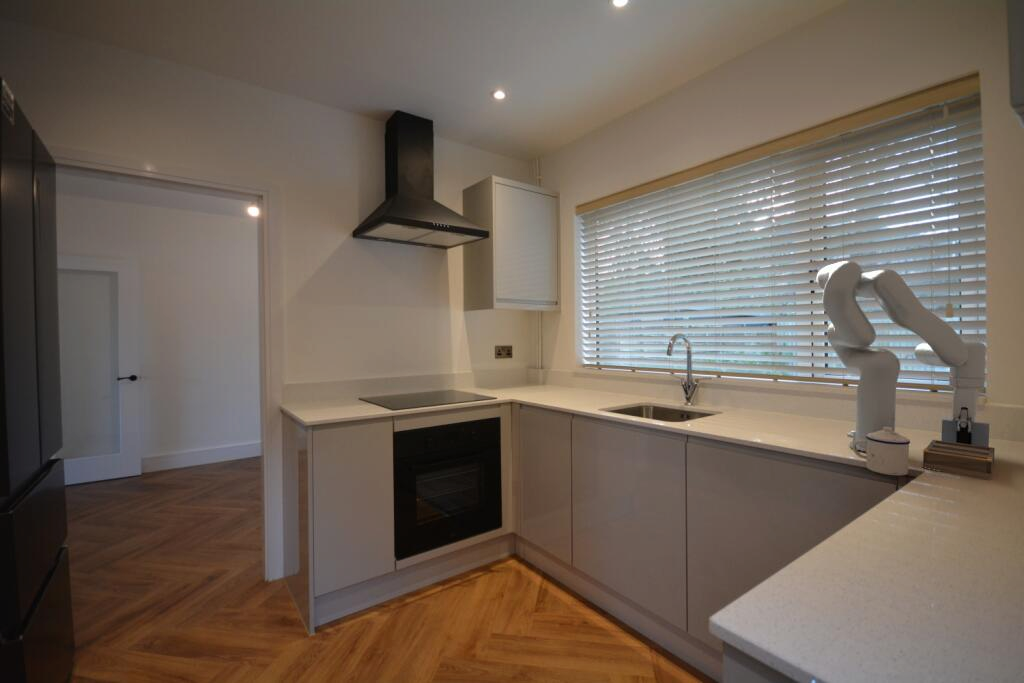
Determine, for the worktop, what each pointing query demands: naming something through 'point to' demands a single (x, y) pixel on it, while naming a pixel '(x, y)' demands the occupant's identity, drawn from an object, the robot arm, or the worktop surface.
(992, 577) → the worktop surface
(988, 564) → the worktop surface
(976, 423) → the panel
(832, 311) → the robot arm
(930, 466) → the rack
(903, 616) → the worktop surface
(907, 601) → the worktop surface
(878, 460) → the teacup with lid
